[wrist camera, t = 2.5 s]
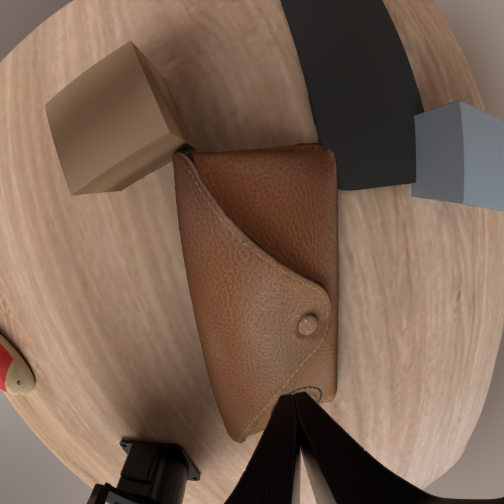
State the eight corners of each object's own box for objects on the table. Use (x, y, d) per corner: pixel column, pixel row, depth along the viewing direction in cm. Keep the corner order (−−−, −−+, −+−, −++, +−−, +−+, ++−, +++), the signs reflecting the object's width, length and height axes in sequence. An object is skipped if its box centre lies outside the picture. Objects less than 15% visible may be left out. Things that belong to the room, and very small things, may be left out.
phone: (374, -15, 10) (438, 180, 14) (371, -9, 11) (430, 180, 14) (272, -21, 11) (329, 193, 14) (272, -14, 11) (325, 193, 15)
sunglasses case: (342, 402, 18) (307, 471, 12) (260, 385, 21) (212, 437, 16) (334, 135, 13) (283, 111, 8) (227, 154, 17) (144, 154, 12)
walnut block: (196, 148, 14) (169, 132, 9) (121, 190, 14) (71, 195, 10) (164, 78, 13) (130, 41, 8) (94, 121, 13) (44, 105, 9)
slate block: (464, 204, 14) (515, 213, 10) (410, 196, 14) (463, 203, 10) (464, 133, 13) (513, 127, 8) (410, 117, 13) (459, 100, 8)
